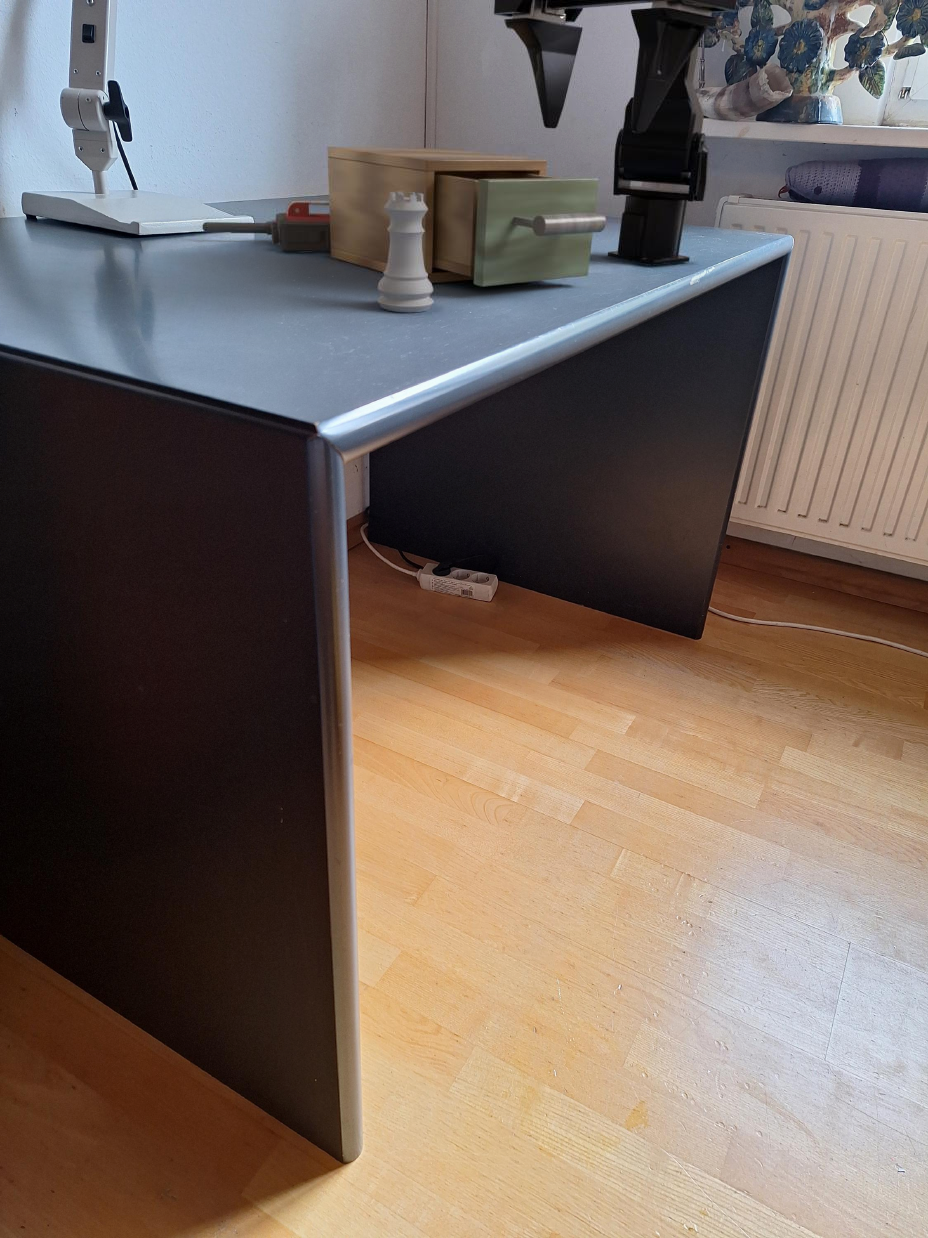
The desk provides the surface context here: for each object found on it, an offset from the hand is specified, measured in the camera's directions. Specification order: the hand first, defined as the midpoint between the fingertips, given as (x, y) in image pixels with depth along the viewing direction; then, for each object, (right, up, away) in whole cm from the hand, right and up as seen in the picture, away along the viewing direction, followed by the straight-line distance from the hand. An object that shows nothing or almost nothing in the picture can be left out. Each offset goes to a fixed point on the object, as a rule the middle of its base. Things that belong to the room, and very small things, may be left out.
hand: (592, 129), depth 65 cm
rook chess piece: (-14, -13, +2) cm, 19 cm away
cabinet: (-13, -2, +19) cm, 23 cm away
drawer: (-7, -6, +13) cm, 15 cm away
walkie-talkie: (-27, +2, +26) cm, 37 cm away
